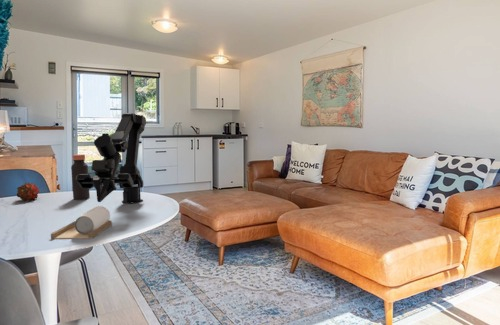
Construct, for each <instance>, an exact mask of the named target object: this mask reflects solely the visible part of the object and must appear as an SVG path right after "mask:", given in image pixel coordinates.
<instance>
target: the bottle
mask: <svg viewBox="0 0 500 325" xmlns="http://www.w3.org/2000/svg"><path fill="white" fill-rule="evenodd" d="M85 160H86V155H85V154H73V155H72V161H73V163H72V165H71V166H70V167H71V170H70V171H71V182H72V184H71V185H72V198H73V200H76V201H79V200H88V199H89V198H90V197H91V196H90V189H82V188H81V187H80V186H79V184H78V183H77V182H76V180H75V179H76V177H77V175H79V174H89V165H88V164H86V162H85Z"/></svg>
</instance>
